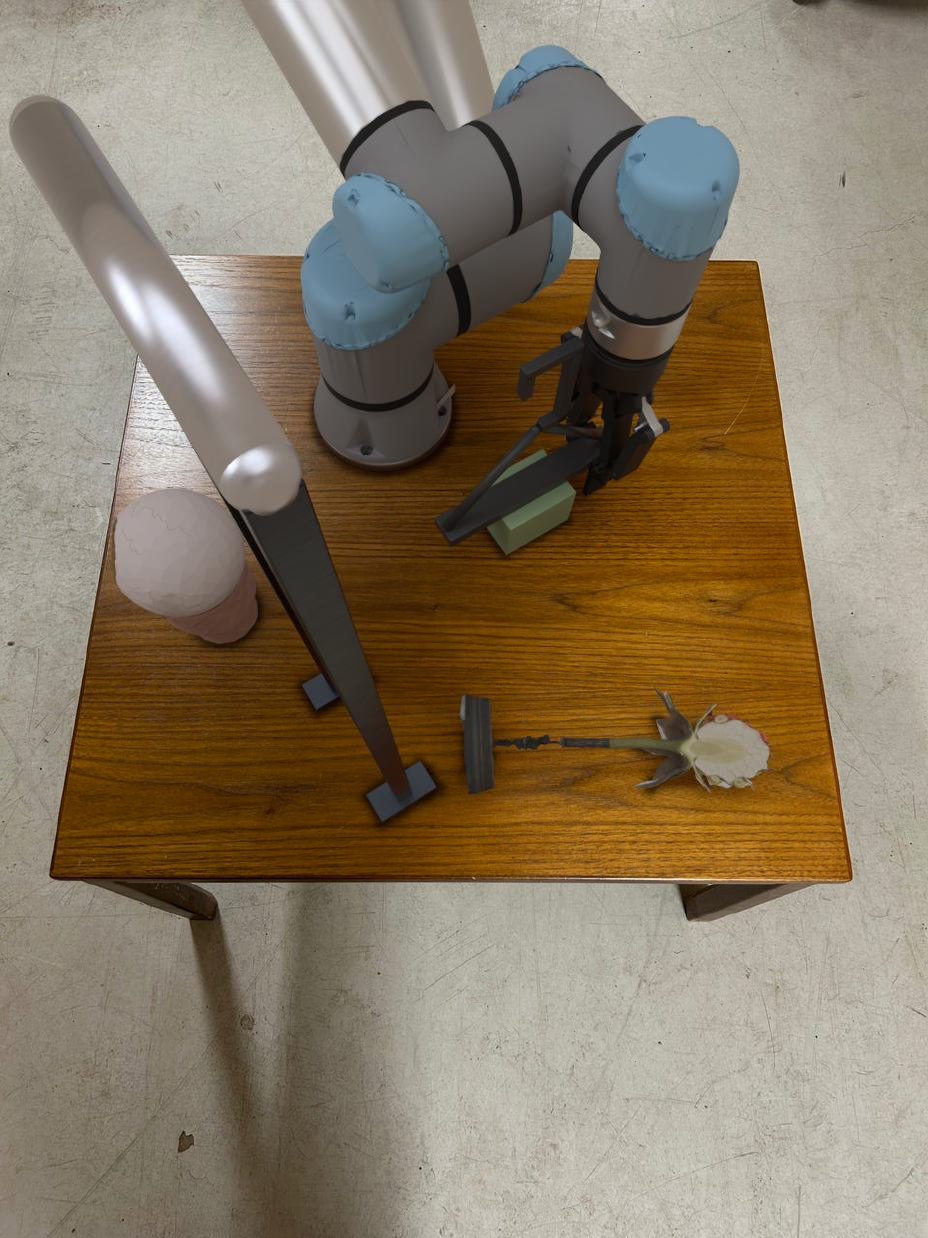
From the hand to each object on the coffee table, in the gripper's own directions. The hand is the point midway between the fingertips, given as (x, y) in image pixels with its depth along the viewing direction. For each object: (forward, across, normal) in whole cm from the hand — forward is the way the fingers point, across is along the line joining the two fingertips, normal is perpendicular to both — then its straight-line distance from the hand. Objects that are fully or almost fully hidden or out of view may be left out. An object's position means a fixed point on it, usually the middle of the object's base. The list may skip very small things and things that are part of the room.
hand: (583, 475), depth 84 cm
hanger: (-5, 0, -8) cm, 9 cm away
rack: (+1, +12, -34) cm, 36 cm away
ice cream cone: (+1, -7, -40) cm, 41 cm away
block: (+1, 0, -8) cm, 8 cm away
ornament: (+1, +25, -15) cm, 29 cm away
